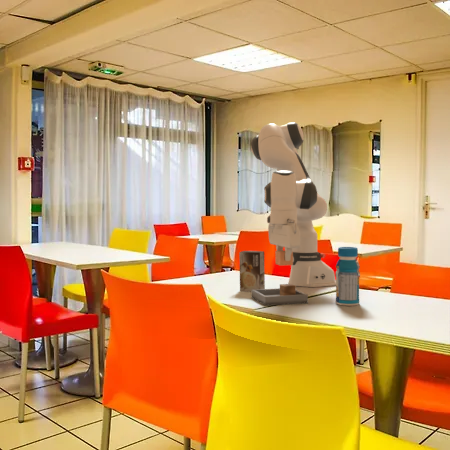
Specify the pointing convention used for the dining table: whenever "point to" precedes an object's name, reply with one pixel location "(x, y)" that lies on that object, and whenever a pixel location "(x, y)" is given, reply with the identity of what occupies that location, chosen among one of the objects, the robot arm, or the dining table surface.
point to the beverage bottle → (347, 277)
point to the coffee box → (251, 270)
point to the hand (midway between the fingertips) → (284, 259)
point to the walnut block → (287, 289)
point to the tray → (278, 297)
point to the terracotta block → (282, 258)
